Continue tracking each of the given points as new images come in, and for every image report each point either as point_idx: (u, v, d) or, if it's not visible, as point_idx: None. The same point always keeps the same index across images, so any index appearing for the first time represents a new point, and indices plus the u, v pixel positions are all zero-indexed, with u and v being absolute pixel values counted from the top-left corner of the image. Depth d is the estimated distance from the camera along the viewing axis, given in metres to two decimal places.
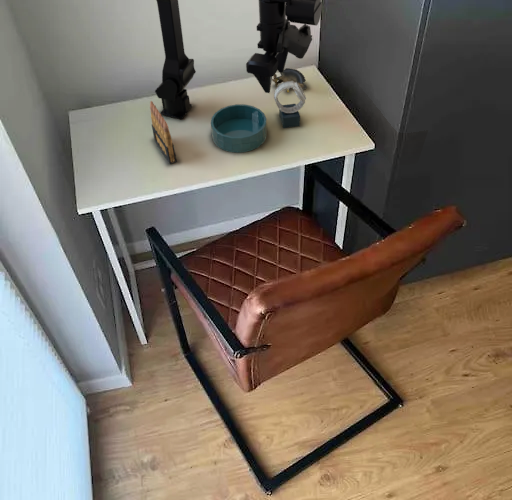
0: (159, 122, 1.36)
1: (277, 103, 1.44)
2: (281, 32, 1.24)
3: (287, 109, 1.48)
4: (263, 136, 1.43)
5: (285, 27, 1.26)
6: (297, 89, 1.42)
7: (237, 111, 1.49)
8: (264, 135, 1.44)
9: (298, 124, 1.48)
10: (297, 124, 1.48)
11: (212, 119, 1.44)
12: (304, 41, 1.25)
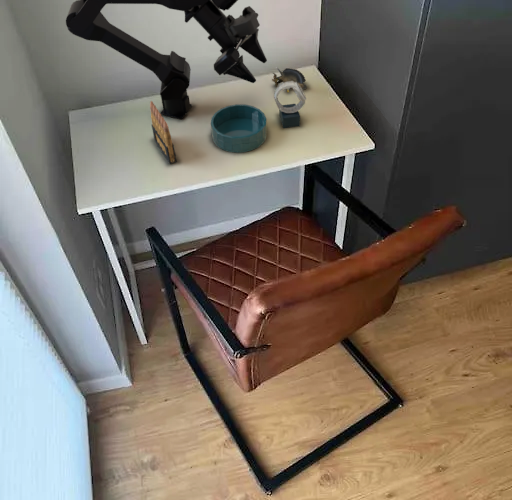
0: (159, 122, 1.36)
1: (277, 103, 1.44)
2: (224, 26, 1.33)
3: (287, 109, 1.48)
4: (263, 136, 1.43)
5: (229, 21, 1.35)
6: (297, 89, 1.42)
7: (237, 111, 1.49)
8: (264, 135, 1.44)
9: (298, 124, 1.48)
10: (297, 124, 1.48)
11: (212, 119, 1.44)
12: (247, 18, 1.32)
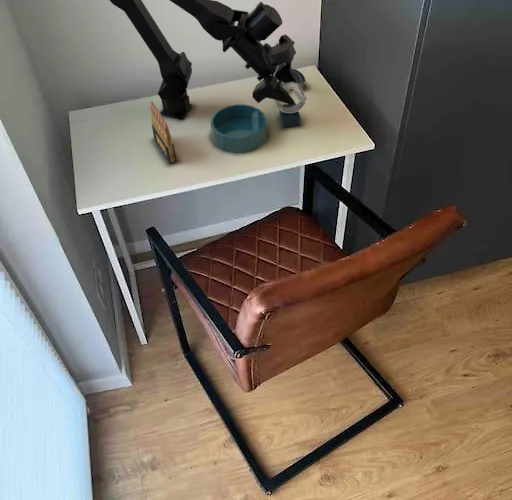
0: (159, 122, 1.36)
1: (277, 104, 1.44)
2: (262, 55, 1.36)
3: (287, 109, 1.47)
4: (263, 136, 1.43)
5: (266, 49, 1.38)
6: (297, 90, 1.41)
7: (237, 111, 1.49)
8: (264, 135, 1.44)
9: (298, 124, 1.48)
10: (297, 124, 1.48)
11: (212, 119, 1.44)
12: (284, 47, 1.35)
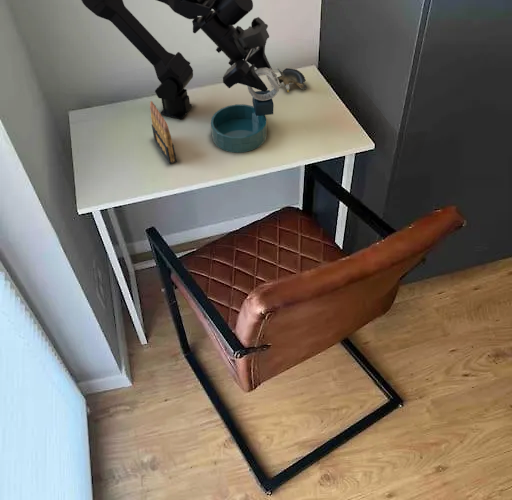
0: (159, 122, 1.36)
1: (250, 90, 1.38)
2: (233, 37, 1.30)
3: (260, 96, 1.41)
4: (263, 136, 1.43)
5: (238, 32, 1.31)
6: (271, 76, 1.35)
7: (237, 111, 1.49)
8: (264, 135, 1.44)
9: (272, 112, 1.42)
10: (271, 112, 1.42)
11: (212, 119, 1.44)
12: (256, 30, 1.29)
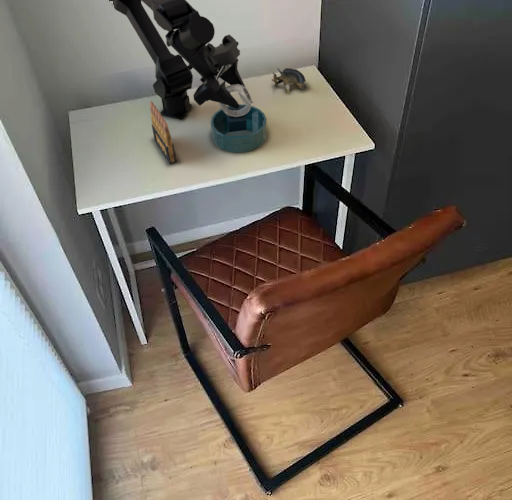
0: (159, 122, 1.36)
1: (222, 107, 1.38)
2: (203, 55, 1.30)
3: (233, 112, 1.42)
4: (263, 136, 1.43)
5: (209, 50, 1.32)
6: (242, 93, 1.35)
7: None
8: (264, 135, 1.44)
9: (245, 128, 1.42)
10: (244, 128, 1.42)
11: (212, 119, 1.44)
12: (226, 47, 1.29)
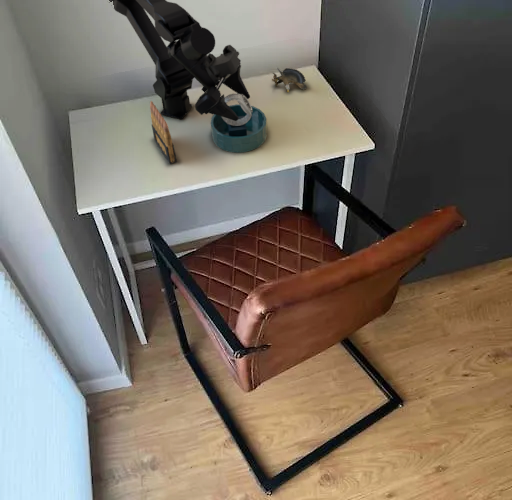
0: (159, 122, 1.36)
1: None
2: (205, 65, 1.32)
3: (234, 121, 1.44)
4: (263, 136, 1.43)
5: (210, 60, 1.33)
6: (242, 102, 1.38)
7: (237, 111, 1.49)
8: (264, 135, 1.44)
9: None
10: None
11: (212, 119, 1.44)
12: (227, 57, 1.31)
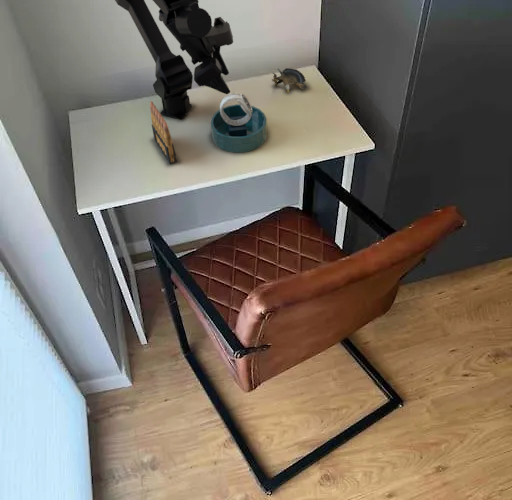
0: (159, 122, 1.36)
1: (222, 115, 1.41)
2: None
3: (234, 121, 1.44)
4: (263, 136, 1.43)
5: None
6: (242, 102, 1.38)
7: (237, 111, 1.49)
8: (264, 135, 1.44)
9: None
10: None
11: (212, 119, 1.44)
12: (224, 28, 1.30)
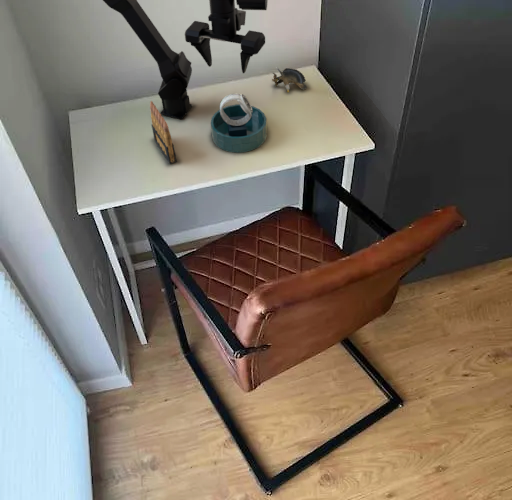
0: (159, 122, 1.36)
1: (222, 115, 1.41)
2: (237, 10, 1.34)
3: (234, 121, 1.44)
4: (263, 136, 1.43)
5: None
6: (242, 102, 1.38)
7: (237, 111, 1.49)
8: (264, 135, 1.44)
9: None
10: None
11: (212, 119, 1.44)
12: (237, 10, 1.39)
